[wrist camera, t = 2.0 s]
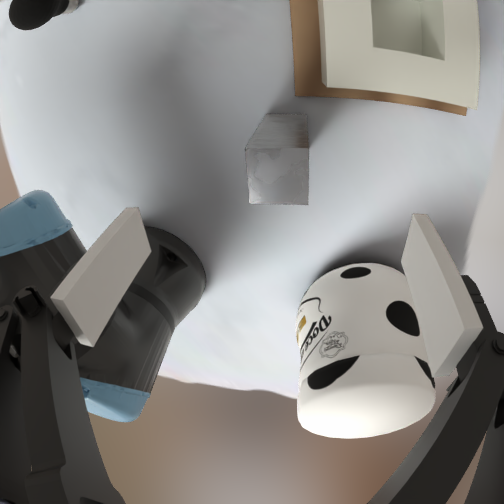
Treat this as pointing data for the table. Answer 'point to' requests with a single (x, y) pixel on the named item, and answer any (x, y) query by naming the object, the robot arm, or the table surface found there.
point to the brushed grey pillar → (279, 160)
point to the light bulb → (38, 12)
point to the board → (310, 65)
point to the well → (402, 47)
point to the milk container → (361, 354)
